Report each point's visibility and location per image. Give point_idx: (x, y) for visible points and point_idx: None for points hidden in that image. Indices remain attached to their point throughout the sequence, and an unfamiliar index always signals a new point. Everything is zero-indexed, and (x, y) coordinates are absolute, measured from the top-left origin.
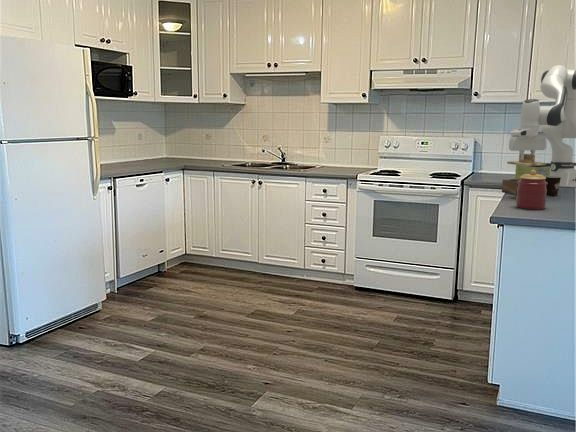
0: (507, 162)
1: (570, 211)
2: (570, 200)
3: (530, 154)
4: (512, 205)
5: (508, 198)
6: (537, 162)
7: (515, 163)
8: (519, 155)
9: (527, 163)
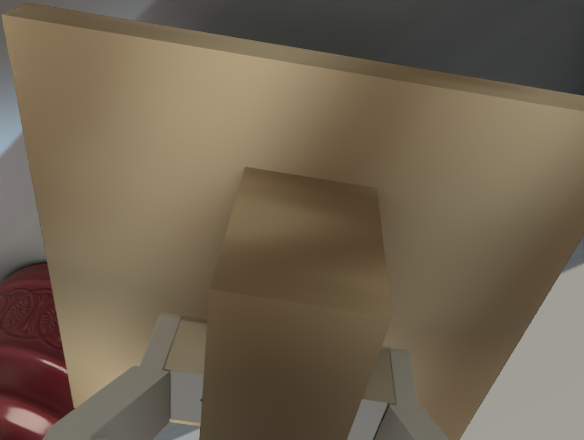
0: (15, 15)
1: (189, 429)
2: None
3: (400, 437)
4: (9, 244)
5: (165, 25)
6: (432, 381)
7: (53, 250)
8: (218, 267)
9: None
